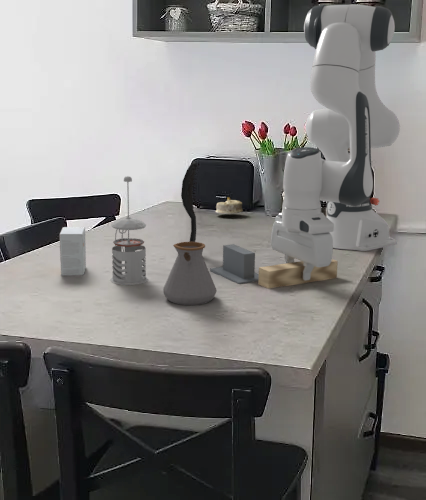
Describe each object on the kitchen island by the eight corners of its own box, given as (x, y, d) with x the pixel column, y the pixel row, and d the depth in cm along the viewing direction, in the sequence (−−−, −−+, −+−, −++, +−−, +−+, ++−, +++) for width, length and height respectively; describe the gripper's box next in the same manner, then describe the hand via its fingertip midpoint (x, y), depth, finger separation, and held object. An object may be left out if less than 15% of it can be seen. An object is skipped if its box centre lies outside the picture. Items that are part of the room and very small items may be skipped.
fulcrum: (237, 268, 190) (238, 241, 188) (267, 282, 178) (268, 253, 176) (210, 272, 186) (210, 244, 184) (238, 286, 174) (239, 257, 172)
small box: (63, 267, 188) (62, 226, 186) (86, 267, 189) (85, 226, 186) (60, 276, 181) (58, 233, 178) (83, 276, 181) (82, 233, 179)
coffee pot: (165, 294, 168) (165, 228, 164) (217, 295, 167) (217, 229, 164) (155, 326, 147) (155, 252, 143) (214, 327, 147) (215, 253, 143)
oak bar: (325, 277, 184) (327, 257, 183) (336, 281, 180) (337, 261, 179) (258, 288, 174) (258, 267, 173) (268, 292, 170) (268, 271, 169)
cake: (248, 211, 265) (248, 196, 264) (234, 216, 257) (234, 200, 255) (224, 208, 270) (224, 193, 269) (209, 213, 262) (209, 197, 260)
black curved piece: (194, 258, 199) (194, 164, 193) (180, 257, 200) (181, 163, 194) (202, 251, 207) (203, 160, 201) (189, 250, 207) (189, 160, 201)
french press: (116, 289, 171) (114, 180, 165) (100, 276, 181) (97, 173, 175) (156, 284, 175) (156, 177, 169) (138, 272, 185) (136, 171, 179)
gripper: (265, 212, 181) (263, 267, 184) (315, 228, 163) (312, 289, 167) (287, 210, 184) (285, 264, 187) (338, 225, 166) (335, 285, 170)
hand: (298, 276), depth 177 cm, fingers closed on oak bar, 4 cm apart
